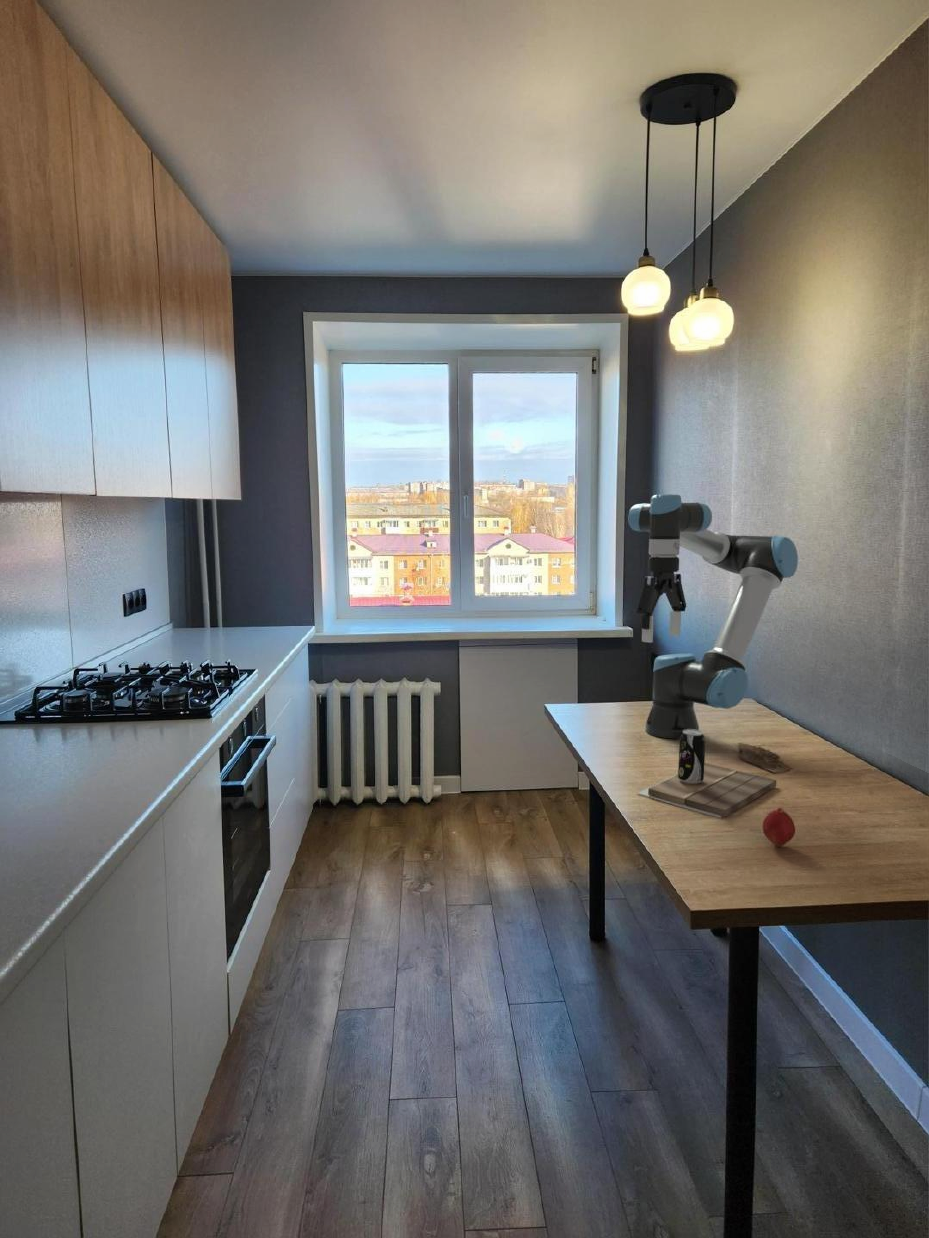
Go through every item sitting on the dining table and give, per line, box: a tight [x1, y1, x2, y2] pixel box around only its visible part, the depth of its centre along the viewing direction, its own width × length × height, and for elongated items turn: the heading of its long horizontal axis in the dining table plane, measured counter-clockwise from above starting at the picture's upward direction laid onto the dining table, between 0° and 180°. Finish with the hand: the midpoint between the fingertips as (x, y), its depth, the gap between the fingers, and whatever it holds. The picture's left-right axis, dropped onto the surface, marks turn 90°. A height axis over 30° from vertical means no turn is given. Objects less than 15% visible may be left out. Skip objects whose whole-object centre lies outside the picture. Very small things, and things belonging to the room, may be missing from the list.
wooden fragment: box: [738, 742, 793, 775], centre depth 203 cm, size 26×11×1 cm, turn 177°
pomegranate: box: [761, 806, 796, 848], centre depth 148 cm, size 6×6×8 cm
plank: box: [647, 762, 739, 805], centre depth 181 cm, size 26×9×2 cm, turn 135°
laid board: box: [686, 771, 778, 818], centre depth 174 cm, size 26×9×2 cm, turn 135°
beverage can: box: [677, 729, 707, 785], centre depth 178 cm, size 6×6×12 cm
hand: (661, 639), depth 198 cm, fingers open, 13 cm apart
